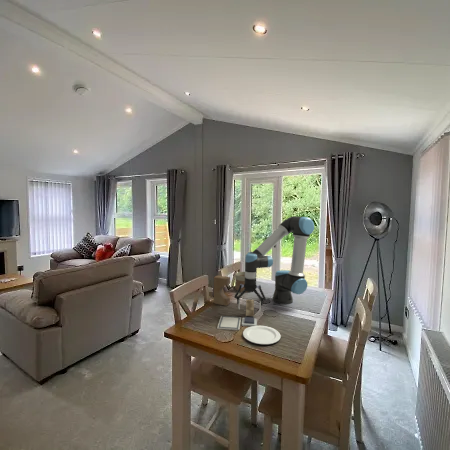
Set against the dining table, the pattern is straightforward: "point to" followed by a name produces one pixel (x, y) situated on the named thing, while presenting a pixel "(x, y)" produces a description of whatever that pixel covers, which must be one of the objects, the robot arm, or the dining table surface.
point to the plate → (261, 335)
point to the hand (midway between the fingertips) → (249, 309)
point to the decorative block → (221, 290)
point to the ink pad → (249, 321)
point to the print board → (229, 323)
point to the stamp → (249, 308)
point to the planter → (239, 280)
